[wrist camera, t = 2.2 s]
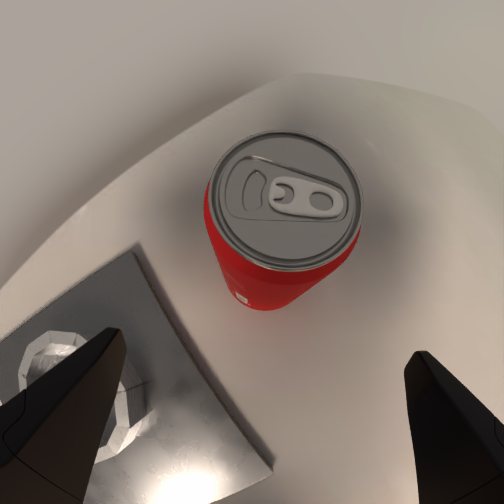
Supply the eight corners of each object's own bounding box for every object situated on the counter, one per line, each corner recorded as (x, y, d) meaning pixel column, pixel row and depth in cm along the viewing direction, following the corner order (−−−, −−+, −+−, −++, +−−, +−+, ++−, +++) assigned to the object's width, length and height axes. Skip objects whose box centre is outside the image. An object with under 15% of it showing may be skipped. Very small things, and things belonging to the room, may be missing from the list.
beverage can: (233, 230, 21) (221, 114, 9) (307, 243, 21) (370, 142, 9) (218, 304, 20) (180, 261, 8) (296, 317, 19) (366, 293, 8)
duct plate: (272, 468, 17) (278, 494, 13) (93, 530, 14) (75, 550, 10) (135, 253, 20) (113, 236, 16) (-10, 357, 17) (-39, 356, 14)
